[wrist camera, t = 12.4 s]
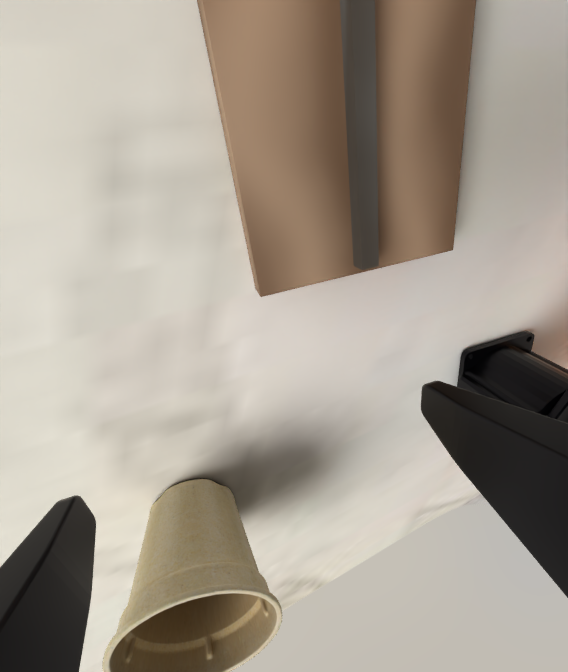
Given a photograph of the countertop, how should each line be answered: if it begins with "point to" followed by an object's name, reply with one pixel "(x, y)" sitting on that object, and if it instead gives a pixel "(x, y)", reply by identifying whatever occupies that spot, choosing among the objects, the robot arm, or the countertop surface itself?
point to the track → (341, 129)
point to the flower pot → (194, 589)
